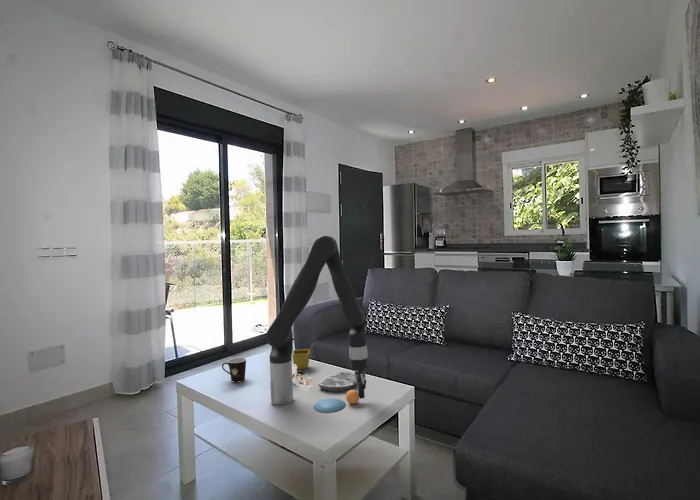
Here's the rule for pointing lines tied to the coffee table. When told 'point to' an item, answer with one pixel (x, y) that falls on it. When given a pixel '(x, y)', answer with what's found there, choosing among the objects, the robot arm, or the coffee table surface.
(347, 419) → the coffee table surface
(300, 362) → the flower pot
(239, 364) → the coffee mug
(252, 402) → the coffee table surface
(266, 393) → the coffee table surface
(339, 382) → the brain slice
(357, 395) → the ball
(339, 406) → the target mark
